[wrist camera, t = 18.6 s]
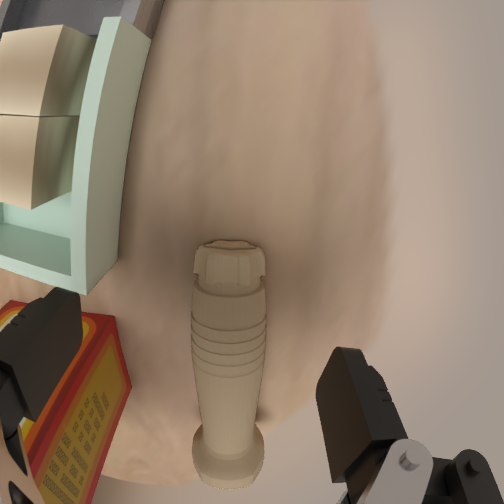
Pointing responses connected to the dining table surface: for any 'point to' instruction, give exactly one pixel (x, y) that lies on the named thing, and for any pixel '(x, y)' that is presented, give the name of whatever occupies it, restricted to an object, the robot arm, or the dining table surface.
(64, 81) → the birch block
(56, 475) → the baking soda box
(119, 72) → the chip tray
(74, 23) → the metal chute
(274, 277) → the dining table surface
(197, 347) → the handle
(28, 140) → the birch block
